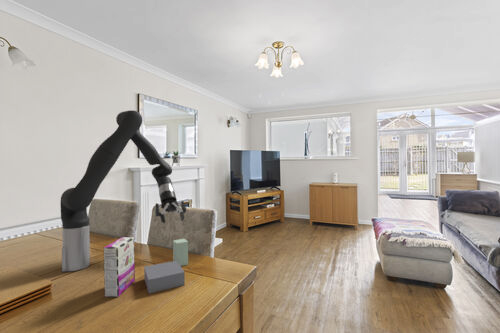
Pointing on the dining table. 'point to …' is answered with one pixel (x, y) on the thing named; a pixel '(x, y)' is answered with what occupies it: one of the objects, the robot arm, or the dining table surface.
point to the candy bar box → (119, 266)
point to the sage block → (180, 251)
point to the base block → (163, 276)
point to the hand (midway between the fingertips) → (173, 221)
